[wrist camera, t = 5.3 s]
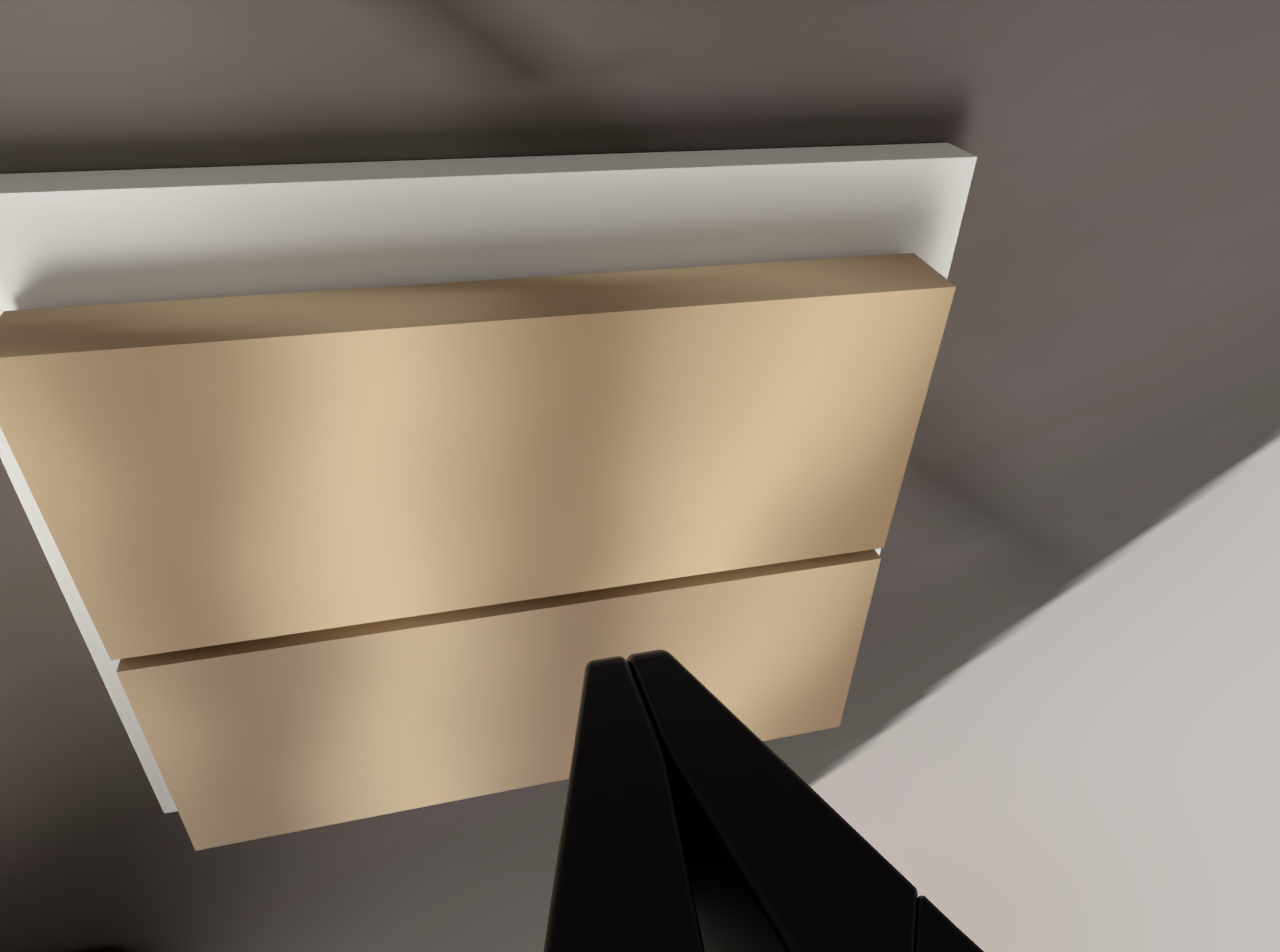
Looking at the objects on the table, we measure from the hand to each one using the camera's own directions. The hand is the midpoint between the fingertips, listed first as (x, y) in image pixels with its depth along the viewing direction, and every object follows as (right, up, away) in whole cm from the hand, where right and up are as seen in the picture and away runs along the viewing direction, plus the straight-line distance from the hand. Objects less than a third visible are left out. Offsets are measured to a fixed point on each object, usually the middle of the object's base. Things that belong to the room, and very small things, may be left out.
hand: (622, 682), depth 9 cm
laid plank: (-2, -2, +11) cm, 11 cm away
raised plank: (-2, +3, +7) cm, 8 cm away
